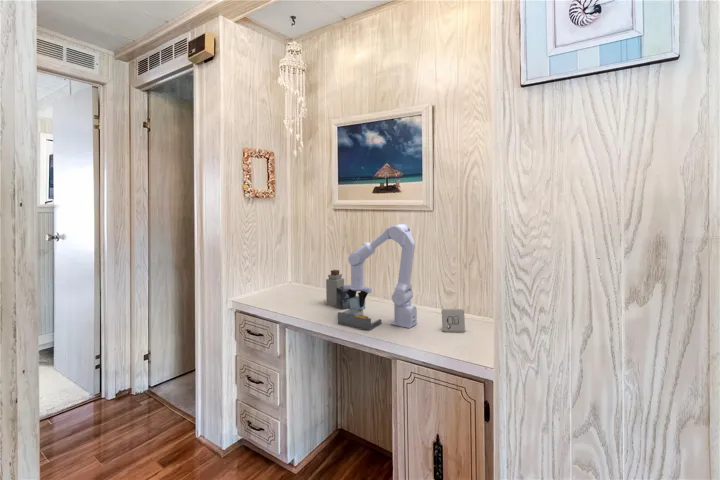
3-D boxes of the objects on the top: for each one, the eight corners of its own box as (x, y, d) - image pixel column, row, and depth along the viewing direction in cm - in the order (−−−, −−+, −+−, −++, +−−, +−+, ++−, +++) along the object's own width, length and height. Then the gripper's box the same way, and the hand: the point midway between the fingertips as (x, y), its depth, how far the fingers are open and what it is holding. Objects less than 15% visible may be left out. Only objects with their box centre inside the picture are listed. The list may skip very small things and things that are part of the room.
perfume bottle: (344, 303, 197) (344, 270, 195) (337, 306, 191) (336, 272, 189) (334, 301, 201) (333, 268, 199) (326, 304, 195) (325, 270, 193)
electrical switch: (442, 332, 154) (442, 310, 154) (440, 329, 159) (440, 307, 159) (465, 332, 153) (465, 310, 153) (462, 329, 158) (462, 307, 158)
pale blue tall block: (365, 308, 177) (365, 296, 176) (357, 312, 171) (356, 299, 171) (358, 307, 179) (358, 295, 179) (350, 311, 174) (349, 298, 173)
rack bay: (381, 323, 164) (381, 311, 164) (369, 330, 156) (369, 318, 155) (350, 317, 174) (350, 306, 173) (337, 323, 165) (337, 311, 164)
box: (342, 310, 185) (341, 289, 184) (336, 307, 190) (335, 287, 189) (355, 307, 190) (354, 287, 188) (349, 304, 194) (349, 285, 193)
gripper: (339, 277, 174) (340, 305, 176) (365, 280, 166) (366, 310, 168) (348, 275, 180) (348, 302, 182) (373, 278, 172) (374, 306, 174)
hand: (357, 305), depth 175 cm, fingers closed on pale blue tall block, 4 cm apart
